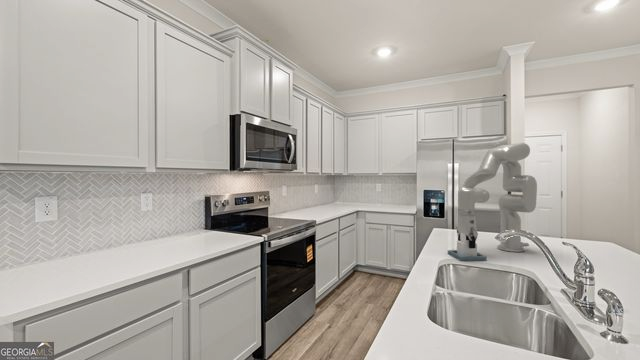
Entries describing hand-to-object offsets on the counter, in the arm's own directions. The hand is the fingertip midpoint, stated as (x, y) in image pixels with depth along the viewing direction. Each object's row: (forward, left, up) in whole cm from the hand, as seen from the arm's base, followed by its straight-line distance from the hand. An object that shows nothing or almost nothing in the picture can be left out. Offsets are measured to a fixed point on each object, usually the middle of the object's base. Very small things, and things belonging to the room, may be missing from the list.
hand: (466, 245), depth 142 cm
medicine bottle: (0, 0, -6) cm, 6 cm away
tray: (0, 0, -6) cm, 6 cm away
